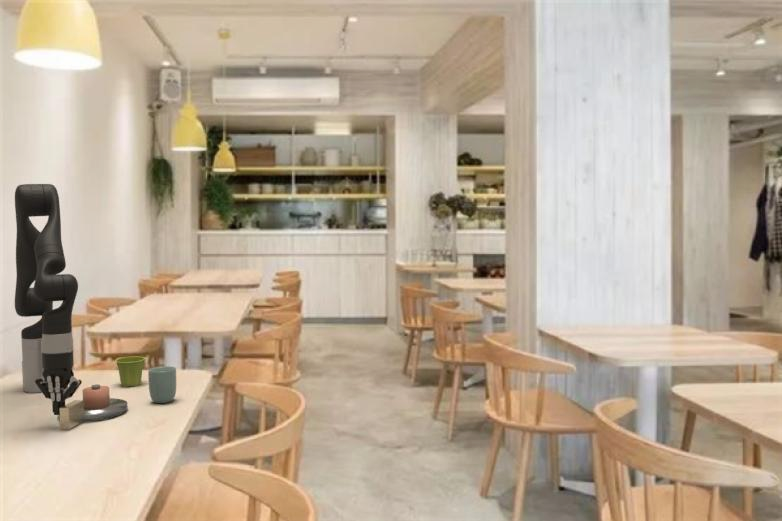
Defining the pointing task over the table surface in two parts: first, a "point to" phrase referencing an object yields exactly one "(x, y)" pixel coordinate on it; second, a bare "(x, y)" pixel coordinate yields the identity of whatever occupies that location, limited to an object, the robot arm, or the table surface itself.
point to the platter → (89, 412)
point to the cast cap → (96, 397)
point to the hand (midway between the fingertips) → (59, 414)
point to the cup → (162, 384)
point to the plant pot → (130, 370)
